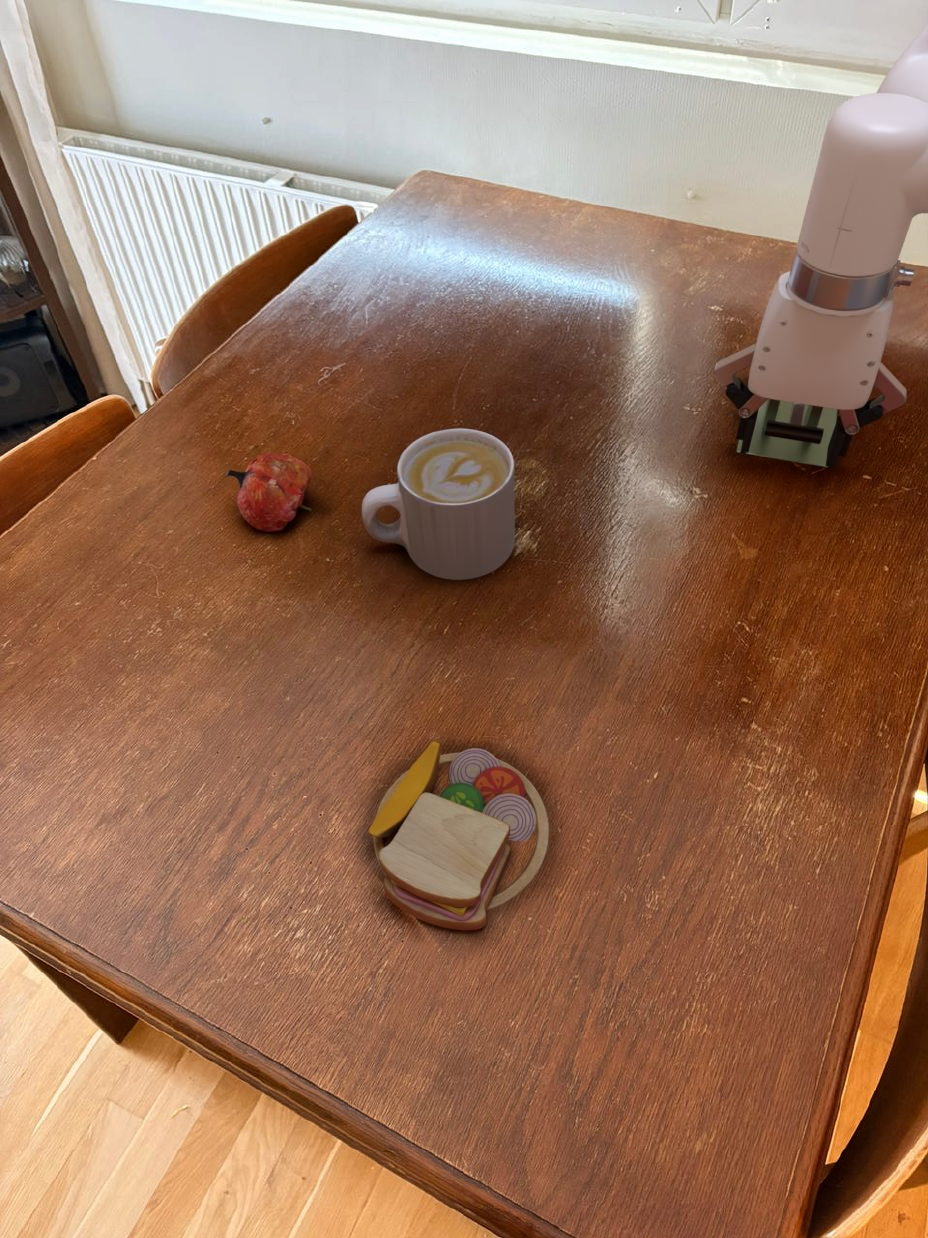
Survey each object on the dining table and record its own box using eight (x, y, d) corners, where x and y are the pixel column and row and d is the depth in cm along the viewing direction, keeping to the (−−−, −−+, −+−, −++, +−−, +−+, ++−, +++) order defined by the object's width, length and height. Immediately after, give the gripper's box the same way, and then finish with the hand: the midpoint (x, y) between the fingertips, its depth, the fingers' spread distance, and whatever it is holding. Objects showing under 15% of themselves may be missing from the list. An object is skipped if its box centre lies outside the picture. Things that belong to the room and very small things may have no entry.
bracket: (828, 476, 87) (864, 373, 78) (734, 461, 89) (758, 358, 80) (836, 403, 94) (869, 301, 85) (748, 390, 97) (773, 289, 88)
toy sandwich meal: (579, 809, 66) (583, 777, 62) (481, 969, 58) (479, 942, 55) (438, 734, 70) (434, 699, 67) (331, 873, 63) (320, 843, 60)
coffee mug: (516, 512, 86) (516, 428, 78) (512, 589, 80) (512, 506, 72) (378, 509, 87) (365, 427, 79) (364, 586, 81) (348, 503, 73)
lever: (817, 449, 83) (823, 437, 80) (762, 440, 84) (765, 428, 82) (838, 344, 85) (844, 329, 83) (784, 337, 86) (788, 322, 84)
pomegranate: (319, 506, 91) (229, 456, 87) (352, 471, 86) (257, 416, 82) (298, 563, 87) (203, 514, 83) (330, 531, 82) (230, 476, 78)
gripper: (958, 264, 71) (886, 442, 84) (733, 239, 75) (700, 413, 88) (959, 315, 66) (884, 494, 80) (721, 285, 70) (687, 461, 84)
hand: (787, 450), depth 84 cm, fingers open, 7 cm apart
